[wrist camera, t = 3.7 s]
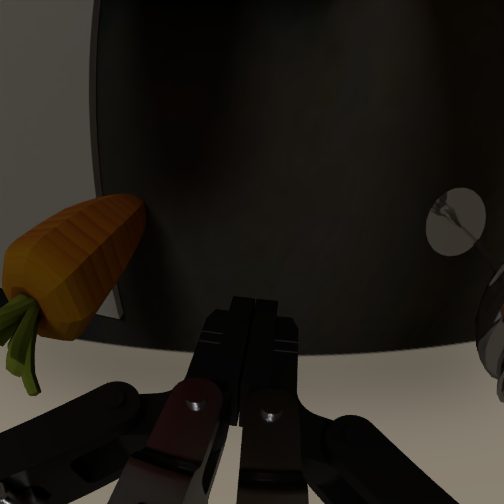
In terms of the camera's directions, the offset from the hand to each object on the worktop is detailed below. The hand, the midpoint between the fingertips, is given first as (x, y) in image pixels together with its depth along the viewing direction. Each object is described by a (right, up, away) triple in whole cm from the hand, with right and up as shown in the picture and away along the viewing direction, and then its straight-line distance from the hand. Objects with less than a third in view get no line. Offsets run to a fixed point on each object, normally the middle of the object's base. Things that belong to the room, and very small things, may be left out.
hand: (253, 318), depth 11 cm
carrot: (-7, +6, +9) cm, 13 cm away
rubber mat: (-22, +11, +8) cm, 26 cm away
